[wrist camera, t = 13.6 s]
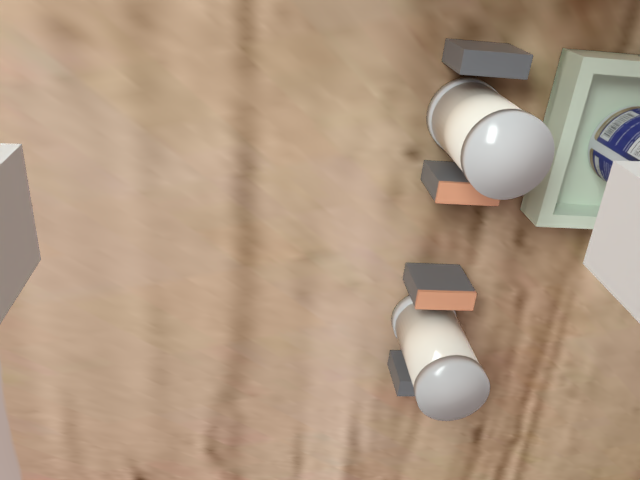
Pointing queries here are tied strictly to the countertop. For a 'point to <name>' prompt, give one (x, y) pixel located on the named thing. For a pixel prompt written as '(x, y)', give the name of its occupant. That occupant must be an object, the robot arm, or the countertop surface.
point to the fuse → (490, 138)
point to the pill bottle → (615, 140)
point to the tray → (580, 134)
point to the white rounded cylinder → (439, 362)
